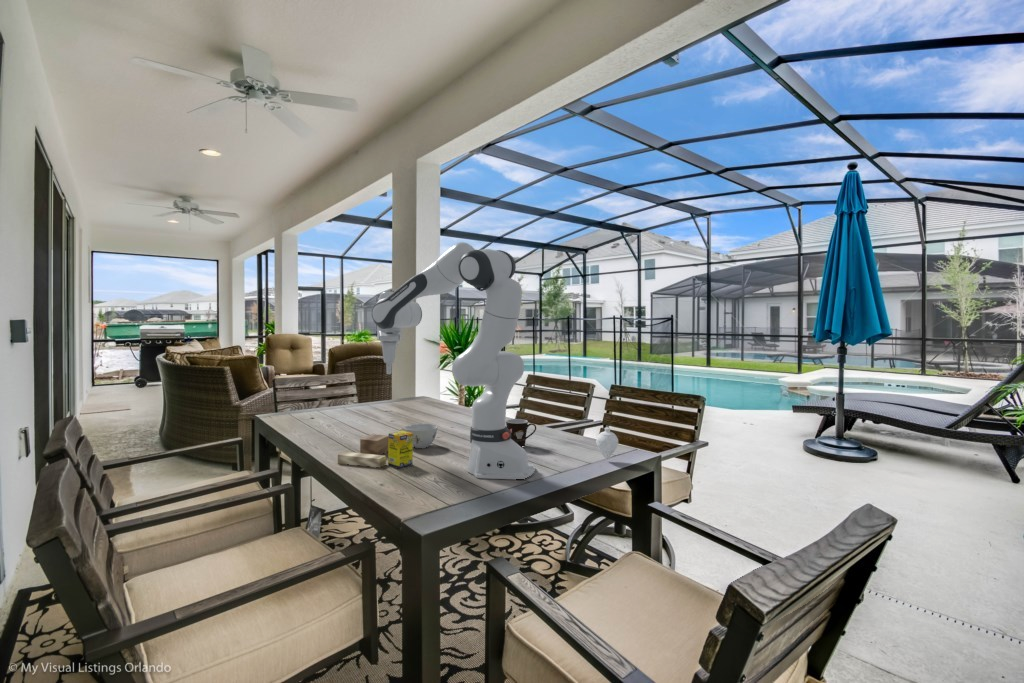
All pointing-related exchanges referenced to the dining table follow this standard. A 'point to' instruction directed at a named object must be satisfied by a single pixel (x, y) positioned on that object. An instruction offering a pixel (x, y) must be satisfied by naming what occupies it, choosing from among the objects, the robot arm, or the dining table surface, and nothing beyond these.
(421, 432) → the teacup
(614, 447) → the spinning top
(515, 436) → the coffee mug
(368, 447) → the block
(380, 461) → the beige long bar
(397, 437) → the supplement box
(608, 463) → the dining table surface
